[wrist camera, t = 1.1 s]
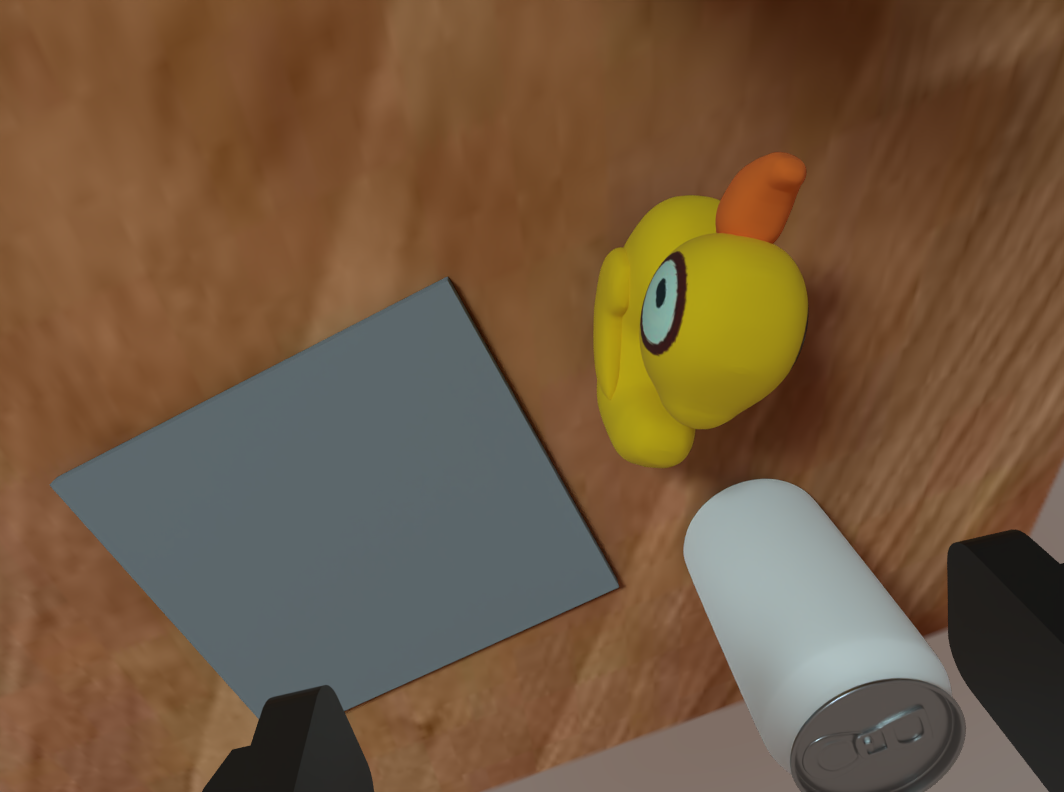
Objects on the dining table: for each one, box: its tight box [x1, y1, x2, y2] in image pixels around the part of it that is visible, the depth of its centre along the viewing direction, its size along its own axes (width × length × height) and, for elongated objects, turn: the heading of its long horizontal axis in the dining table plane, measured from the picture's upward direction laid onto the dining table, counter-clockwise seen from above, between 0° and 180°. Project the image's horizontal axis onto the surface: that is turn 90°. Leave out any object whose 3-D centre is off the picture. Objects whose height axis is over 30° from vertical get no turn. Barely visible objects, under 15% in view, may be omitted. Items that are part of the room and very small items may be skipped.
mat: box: [50, 277, 619, 719], centre depth 33 cm, size 18×16×1 cm
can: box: [684, 479, 966, 792], centre depth 30 cm, size 6×6×12 cm
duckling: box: [594, 152, 808, 468], centre depth 26 cm, size 11×5×10 cm, turn 167°
